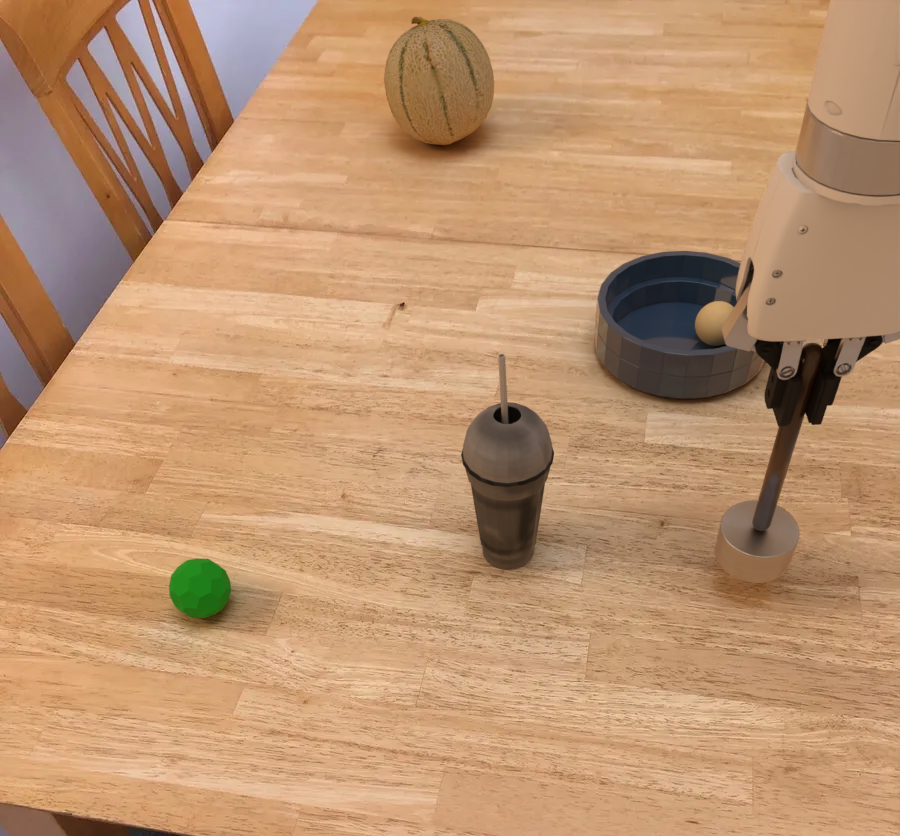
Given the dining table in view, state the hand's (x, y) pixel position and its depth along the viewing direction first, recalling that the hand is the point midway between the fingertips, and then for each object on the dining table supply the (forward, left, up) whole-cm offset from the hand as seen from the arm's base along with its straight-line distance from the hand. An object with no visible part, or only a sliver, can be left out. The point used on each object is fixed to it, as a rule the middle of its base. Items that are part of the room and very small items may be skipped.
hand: (794, 410), depth 63 cm
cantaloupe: (+25, -81, -19) cm, 87 cm away
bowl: (0, -32, -19) cm, 37 cm away
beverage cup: (+19, -5, -19) cm, 27 cm away
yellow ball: (-3, -32, -16) cm, 36 cm away
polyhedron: (+45, 0, -19) cm, 49 cm away
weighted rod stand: (0, 0, -15) cm, 15 cm away
